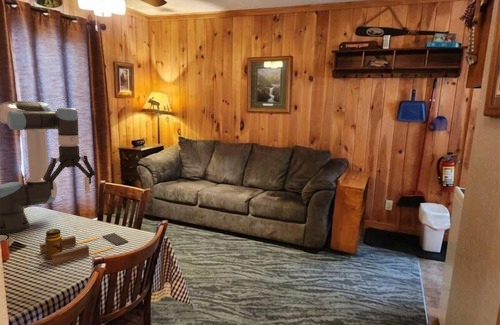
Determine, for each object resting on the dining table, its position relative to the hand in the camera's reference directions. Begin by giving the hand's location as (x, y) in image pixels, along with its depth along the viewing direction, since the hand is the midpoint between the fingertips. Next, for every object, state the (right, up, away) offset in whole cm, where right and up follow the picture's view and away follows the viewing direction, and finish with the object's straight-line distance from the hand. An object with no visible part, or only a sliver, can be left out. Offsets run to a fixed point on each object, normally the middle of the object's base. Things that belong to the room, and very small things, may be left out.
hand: (71, 194), depth 142 cm
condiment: (-8, -27, -1) cm, 28 cm away
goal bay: (+4, -25, +12) cm, 28 cm away
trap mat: (+11, -24, +20) cm, 33 cm away
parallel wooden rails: (-4, -26, +3) cm, 27 cm away
